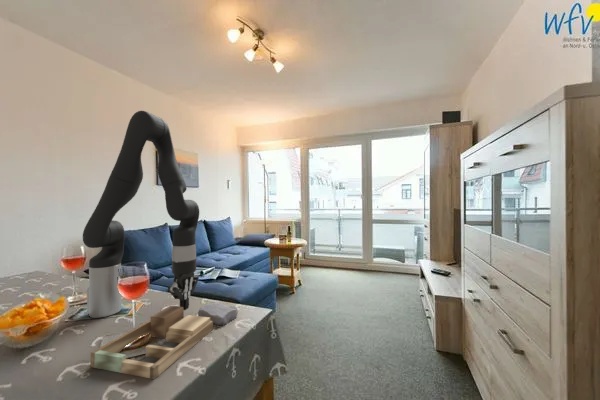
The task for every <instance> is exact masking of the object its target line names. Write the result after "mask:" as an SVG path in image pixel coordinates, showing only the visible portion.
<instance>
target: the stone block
mask: <svg viewBox="0 0 600 400" xmlns="http://www.w3.org/2000/svg"><path fill="white" fill-rule="evenodd" d="M197 316H201V317H210V321H213V325H216V326H224V325H226V324H228V323H229V322H230V321H232V320H234V319H236V318H237V316H238V307H236V306H233V305H230V306H228V305H225V304H223V303H219V302H210V303H207V304H205V305H203V306H201V307H200V308H199V310H198V312H197Z"/></svg>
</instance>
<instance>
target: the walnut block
mask: <svg viewBox="0 0 600 400" xmlns="http://www.w3.org/2000/svg"><path fill="white" fill-rule="evenodd" d="M184 311H185V310H184V307H180V306H176V305H169V306H167V307H166V308H164V309H162V310H160V311H158V312H157V313H154V314H153V315H151V316H150V319H151V333H150V337H151V336H155V337H154V338H158V337H162V338H161V339H166V333H167V332H168V331H169V327H171V326H172V325H174V324H175V323H177V322H178V321H180V320H182V319H183V318H185V316H184Z"/></svg>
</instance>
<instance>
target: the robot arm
mask: <svg viewBox="0 0 600 400" xmlns="http://www.w3.org/2000/svg"><path fill="white" fill-rule="evenodd" d="M126 127H127V128H126V132H125V135H124V139H123V143H122V145H121V148H120V151H119V153H118V157H117V159H116V161H115V164H114V165H113V168H112V170H111V173H110V175H109V176H108V180H107V182H106V185H105V186H104V187H105V188H104V190H103V191H102V195H101V197H100V199H99V200H98V203H97V205H96V206H95V209H94V210H93V211H92V212H93V213H92V214H91V216H90V217H89V219H88V221H87V223H86V224H85V226H84V229H83V232H82V241H83V244H84V245H85V246H86V247H87V248H89V249H97V248H99V249H100V248H101V250H99V252H98V253H97V254H96V255H94V256H92V257H91V258H90V259H89V262H88V264H89V265H88V275H89V276H88V287H87V289H86V296H87V297H86V305H87V306H86V314H89V315H88V317H89V316H90V318H93V319H96V318H104V317H108V316H113V315H115V314H118V312H120V311H121V310H122V293H121V294H120V293H119V291H118V288H117V277H118V269H119V267H120V266H121V267H122V259H123V256H124V253H125V252H124V251H125V248H124V247H125V237H126V236H125V235H126V234H125V228H124V225H123V224H122V223H121V222H120V221H118V220H113V219H114V217H115V216H116V215H117V213H118V212H119V211H121V209H122V208H123V207H124V206H125V205H127V204H128V203H129V202H131V201H132V199H134V197H135V196H136V194H137V192H138V191H139V189H140V186H141V184H142V182H143V179H144V170H143V164H142V152H143V150H144V147H145V145H146V143H147V142H151V143H152V144H153V146H154V148H155V149H156V151H157V154H158V155H157V156H158V164H157V175H158V178H159V181H160V183H161V187H162V189H163V191H164V198H165V206H166V212H167V214H168V215H169V217H170V218H171V219H172V220H174V221H178V222H179V225H178V227H176V228H175V229H174V230H172V248H171V249H172V250H171V273H172V274H173V276H174V277H173V284H171V286H168V288H167V291H168V292H169V293H170V294H171V296H172V297H173V298H174V300H179V307H184V311H186V310H188V309H189V306H190V297H191V295H193V294H194V292H195V289H196V286H197V284H198V282H199V279H200V277H199V276H195V273H196V271H197V247H196V230H197V228H198V223H199V218H200V208H199V207H200V206H199V205H198V203H197V202H196V201H195V200H193V199H185V197H184V193H186V191H187V189H188V187H187V184H186V182H185V179H184V177H183V174H182V172H181V170H180V167H179V165H178V164H179V163H178V161H177V156H176V154H175V149H174V144H173V140H172V139H173V138H172V136H171V131H170V127H169V125H168V123H167V121H166V120H165V119H163V118H161V117H159V116H157V115H155V114H153V113H150V112H148V111H145V110H137V111H136V112H135V113H134V114H133V115H132V116H131V118H130V119H129V122H128V125H127V126H126Z"/></svg>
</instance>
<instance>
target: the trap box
mask: <svg viewBox="0 0 600 400" xmlns="http://www.w3.org/2000/svg"><path fill="white" fill-rule="evenodd" d="M213 330H214V324H213V321H210V317H201V316H198V315H193V314H192V315H191V314H188V315H186V316H184V318H183V319H182V320H180V321H178V322H177V323H175V324H174V325H172V326H171V327H169V331H168V332H167V333H166V338H165V343H164V344H163V345H161V346H160V345H155V344H147V345H146V346H145V358H143V359H142V360H134V359H129V358H127V354H124V353H121V352H122V351H121V350H122V349H123V348H124V347H125V346H126V345H128V344H129V343H131V342H132V341H134V340H135V339H137V338H138V337H140V336H143V335H146V334H148V333H150V334H151V318H150V319H149V320H147V321H144V322H143V323H141V324H139V325H138V326H136V327H135V328H132V329H130V330H129V331H127V332H126V333H123V334H122V335H119V336H118V337H116V338H114V339H112V340H111V341H109V342H107V343H105V344H103V345H102V346H100V347H98V348H97V349H95V350H93V351H91V352H90V368H94V369H100V370H105V371H110V372H115V373H121V374H126V375H130V376H136V377H142V378H147V379H152V380H156V378H158V377H159V376H160V375H161V374H162V373H163V372H165V370H167V369H168V368H169V367H170V366H171V365H173V364H174V363H175V362H176V361H178V360H179V359H180V358H181V357H182V356H183V355H184V354H186V353H187V352H188V351H189V350H191V348H193V347H194V346H195V345H197V343H199V341H201V340H202V339H203V338H204V337H206V335H208V334H209V333H210V332H212V331H213ZM148 335H149V334H148ZM166 341H167V342H166ZM120 351H121V352H120Z"/></svg>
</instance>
